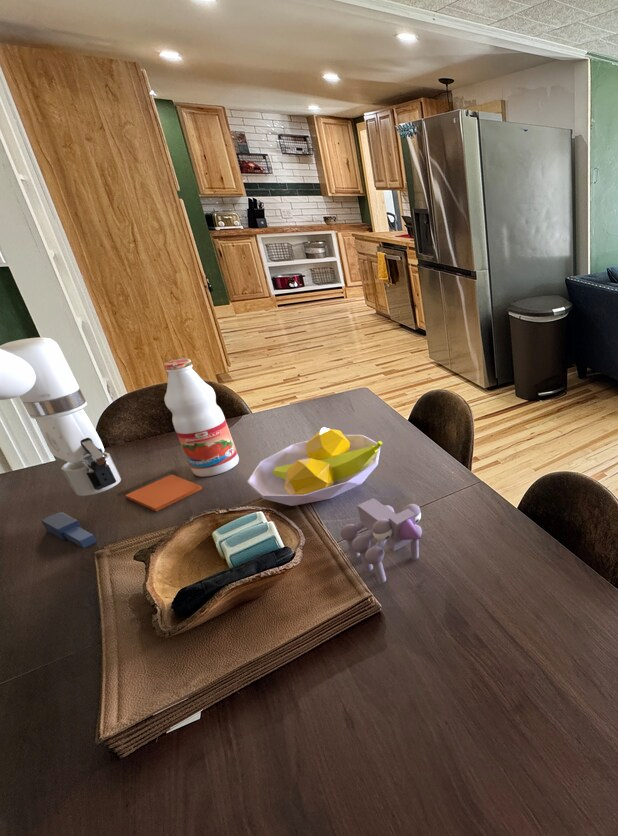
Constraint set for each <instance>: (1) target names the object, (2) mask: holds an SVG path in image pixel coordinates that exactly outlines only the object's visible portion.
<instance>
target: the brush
mask: <svg viewBox="0 0 618 836" xmlns="http://www.w3.org/2000/svg"><path fill="white" fill-rule="evenodd" d="M40 521H41V523H42V525H43V527H44V528H45V530H46V532H48V533H49V534H51V535H53V536H54V537H57V538H58V539H60V540H62V541H66V540H67V541H70V542H71V543H74V544H75V545H77V546H78V547H80V548H82V549H85V548H88V547H89V546H92V545H94V544H96V543H97V542H98V541H97V539H96V536H95V535H94V534H93V533H91V532H89V531H88V530H85V529H83V527H82V526H81V524H80V522H79V520H77V519H76V518H74V517H72V516H70V515H68V514H66V513H64V512H62V511H59V512H57V513H54V514H52V515H49V516H47V517H45V518H43V519H40Z"/></svg>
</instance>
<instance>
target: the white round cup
mask: <svg viewBox="0 0 618 836" xmlns="http://www.w3.org/2000/svg"><path fill="white" fill-rule="evenodd" d="M103 455H104V456H105V459H106V462H107V463H108V465H109V467H110V469H111V471H112V473H113V475H114V477H115V479H116V483H114V484H112V485H109V486H107V487H104V488H102V489H100V490H96V489H94V487H93V485H92V483H91V481H90V479H89V477H88V475H87V473H89V472H88V470H87V469H86V468H85V466H84V465H83V464H82V462H81V461H79V462H78V463H77V464H73V463H69V462H66V461H65V463H64V464H63V465H61V467H60V468H61V471H62V474H63V475H64V477H65V479H66V480H67V483H68V484H69V486H70V488H71V489H72V491H73V493H74V494H75V495H76V496H79V497H87V496H92V495H96V494H100V493H103V492H105V491H108V490H111V489H112V488H114V487H116V486H117V485H118V484H119V483H121V482H122V478H121V474H120V473H119V470H118V468H117V466H116V464H115V462H114V460H113V458H112V456H111V454H110V453H109V452H106V451H104V453H103ZM88 456H90V455H89V454H86V455H83V457H84V458H86V457H88ZM91 462H93V459H91V460H88V463H89V464H90V465H91Z"/></svg>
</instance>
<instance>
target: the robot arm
mask: <svg viewBox="0 0 618 836" xmlns="http://www.w3.org/2000/svg"><path fill="white" fill-rule="evenodd" d="M16 398H19V399H20V401H21V403H22V405H23V406H24V408H25V411H26V412H27V414H28V416H29V417H30V419H34V420H35V421H36V423H37V426H38V428H39V431H40V432H41V435H42V437H43V439H44V442H45V444H46V446H47V448H48V450H49V452H50V453H51V455H52V456H54V457H56V458H58V459H60V460H62V461H64V462H65V463H66V462H69V463H73V464H77V463H78V462H79V461H81V462H82V464H83V465H84V466H85V468H86V469H87V470H88V472H89V473H87V475H88V477H89V479H90V481H91V483H92V485H93V487H94V489H96V490H100V489H102V488H104V487H107V486H109V485H112V484H114V483H116V479H115V477H114V475H113V473H112V471H111V469H110V467H109V465H108V463H107V462H106V459H105V456H104V455H103V453H104V452H106V451H105V448H104V445H103V442H102V439H101V437H100V436H99V434H98V432H97V431H96V428H95V427H94V425H93V423H92V421H91V420H90V417H89V416H88V415H87V413H86V412H85V410H84V408H85V407H86V406H88V402H87V400H86V398H85V396H84V394H83V392H82V390H81V388H80V385H79V384H78V382H77V380H76V378H75V376H74V374H73V371H72V369H71V368H70V365H69V363H68V361H67V359H66V357H65V356H64V354H63V351H62V349H61V347H60V345H59V344H58V343H57V341H55V340H54V339H52V338H49V337H30V338H21V339H17V340H13V341H8V342H6V343H4V344H1V345H0V401H3V400H10V399H11V400H12V399H16ZM87 454H89V455H90V456H88V457H86V458H84V457H83V455H87ZM91 459H93V462H91V465H90V464H89V463H88V460H91Z"/></svg>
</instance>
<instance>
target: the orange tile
mask: <svg viewBox="0 0 618 836" xmlns="http://www.w3.org/2000/svg"><path fill="white" fill-rule="evenodd" d="M202 490H203V487H202V485H200V484H197V483H194V482H192V481H189V480H187V479H184V478H182V477H179V476H177V475H174V474H169V475H167V476H165V477H164V478H163V477H162V478H161V479H158V480H156V481H154V482H152V483H149V484H147V485H145V486H143V487H141V488H138V489H135V490H133V491H132V492H129V493H127V494H125V498H126V499H127V500H130V501H131V502H135V503H136V504H139V505H140V506H143V507H145V508H147V509H150V510H152V511H154V512H158V511H160V510H163V509H164V508H166V507H169V506H170V505H172V504H174V503H177V502H179V501H181V500H183V499H185V498H187V497H189V496H191V495H193V494H195V493H197V492H199V491H202Z"/></svg>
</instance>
